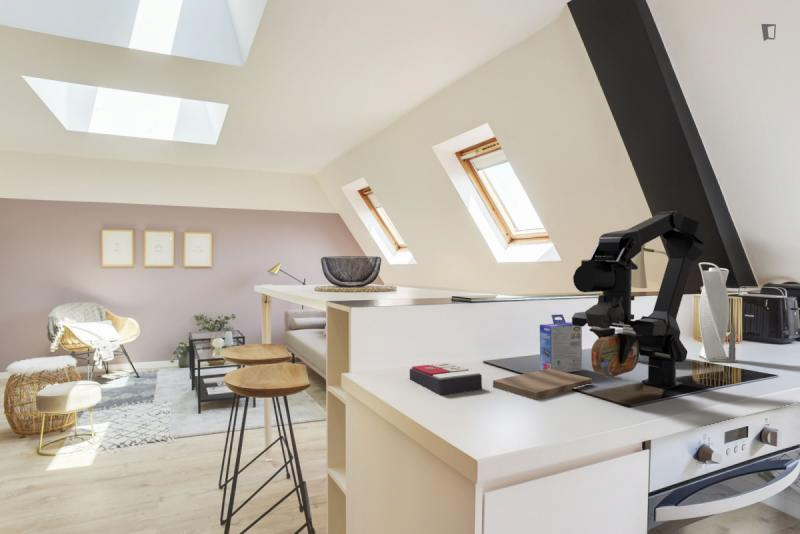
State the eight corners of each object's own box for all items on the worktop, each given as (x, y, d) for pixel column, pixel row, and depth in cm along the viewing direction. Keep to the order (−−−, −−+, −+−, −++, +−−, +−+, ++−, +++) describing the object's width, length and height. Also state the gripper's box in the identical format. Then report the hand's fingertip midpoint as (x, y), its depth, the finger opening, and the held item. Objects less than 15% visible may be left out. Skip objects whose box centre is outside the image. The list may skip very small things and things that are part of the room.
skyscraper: (704, 361, 138) (706, 262, 137) (692, 355, 146) (693, 262, 145) (737, 362, 137) (739, 262, 136) (723, 356, 145) (725, 262, 144)
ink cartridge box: (568, 366, 132) (569, 313, 131) (583, 371, 127) (583, 315, 126) (538, 369, 128) (538, 314, 128) (551, 374, 123) (552, 317, 123)
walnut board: (548, 374, 123) (549, 368, 123) (591, 385, 113) (591, 378, 113) (493, 386, 111) (493, 380, 111) (535, 399, 102) (535, 392, 102)
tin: (601, 380, 101) (602, 340, 100) (587, 377, 103) (588, 337, 103) (640, 369, 110) (641, 331, 109) (626, 366, 112) (627, 329, 112)
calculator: (447, 361, 123) (482, 371, 110) (448, 378, 123) (482, 390, 110) (408, 365, 118) (439, 376, 105) (409, 383, 118) (440, 396, 105)
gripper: (557, 289, 109) (556, 359, 109) (639, 295, 93) (637, 376, 94) (586, 287, 115) (585, 353, 116) (668, 293, 100) (666, 369, 100)
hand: (615, 362), depth 106 cm, fingers closed on tin, 2 cm apart
